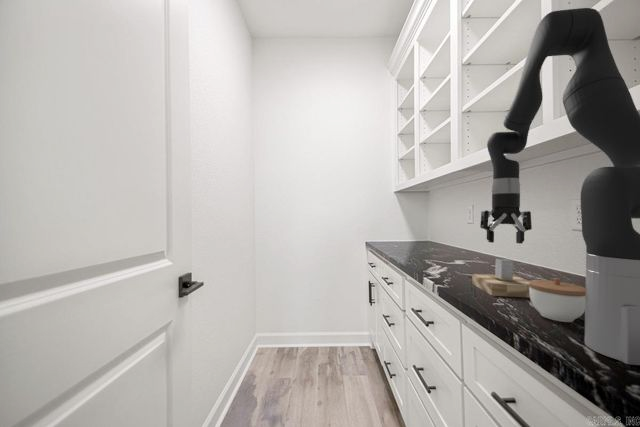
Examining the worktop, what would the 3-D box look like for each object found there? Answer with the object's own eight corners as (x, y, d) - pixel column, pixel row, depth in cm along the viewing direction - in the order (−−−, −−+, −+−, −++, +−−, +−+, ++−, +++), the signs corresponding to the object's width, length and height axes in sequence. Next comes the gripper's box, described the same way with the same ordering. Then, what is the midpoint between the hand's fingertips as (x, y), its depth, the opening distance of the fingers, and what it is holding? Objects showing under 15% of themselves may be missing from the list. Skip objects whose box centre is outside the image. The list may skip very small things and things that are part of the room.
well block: (542, 298, 80) (542, 286, 80) (491, 295, 82) (492, 283, 82) (514, 285, 94) (514, 275, 94) (471, 283, 96) (472, 273, 96)
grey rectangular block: (512, 292, 86) (513, 260, 86) (501, 291, 86) (501, 260, 86) (506, 289, 89) (506, 258, 89) (494, 288, 90) (495, 258, 90)
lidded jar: (533, 320, 63) (534, 280, 63) (524, 306, 72) (524, 271, 72) (596, 330, 58) (597, 286, 58) (577, 314, 67) (578, 276, 67)
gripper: (487, 191, 85) (487, 243, 85) (537, 192, 83) (536, 244, 83) (477, 193, 93) (476, 241, 92) (522, 194, 91) (521, 242, 90)
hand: (505, 242), depth 88 cm, fingers open, 8 cm apart
